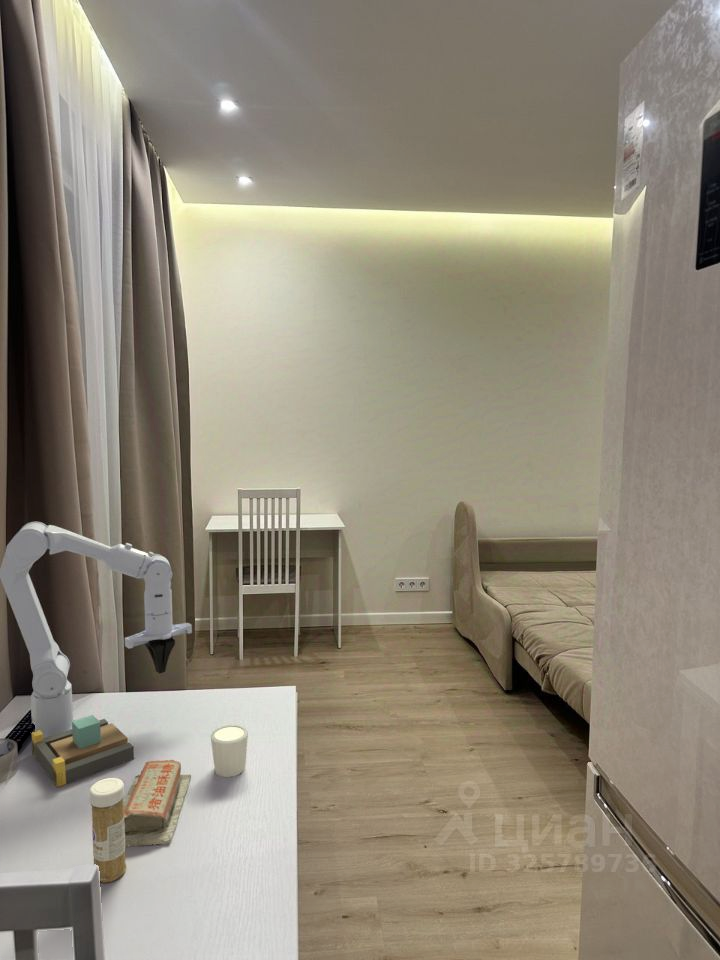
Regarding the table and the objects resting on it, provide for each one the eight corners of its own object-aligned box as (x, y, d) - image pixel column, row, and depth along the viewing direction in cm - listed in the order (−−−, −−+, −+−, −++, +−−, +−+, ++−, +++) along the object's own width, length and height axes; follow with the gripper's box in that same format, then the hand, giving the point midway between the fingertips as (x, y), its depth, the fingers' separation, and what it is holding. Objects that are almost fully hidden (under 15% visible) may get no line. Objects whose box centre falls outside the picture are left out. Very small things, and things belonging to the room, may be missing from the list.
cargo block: (72, 740, 123) (71, 721, 123) (93, 734, 126) (92, 714, 125) (79, 748, 120) (78, 728, 120) (100, 741, 123) (100, 722, 122)
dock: (32, 753, 123) (31, 732, 123) (104, 730, 133) (103, 710, 132) (57, 787, 112) (56, 764, 112) (133, 758, 122) (133, 737, 121)
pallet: (50, 758, 122) (50, 743, 122) (112, 736, 131) (112, 723, 130) (64, 775, 117) (63, 760, 116) (128, 752, 125) (127, 737, 124)
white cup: (231, 754, 123) (230, 720, 123) (256, 766, 119) (255, 731, 118) (203, 770, 118) (202, 735, 117) (228, 783, 114) (228, 746, 113)
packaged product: (134, 757, 114) (190, 755, 115) (135, 783, 115) (191, 780, 116) (103, 821, 96) (170, 817, 97) (105, 851, 97) (171, 847, 98)
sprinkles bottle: (87, 874, 91) (83, 786, 90) (117, 857, 95) (113, 772, 93) (103, 889, 88) (99, 799, 87) (133, 871, 92) (129, 784, 90)
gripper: (133, 623, 130) (135, 686, 131) (197, 608, 139) (199, 667, 141) (119, 615, 135) (122, 676, 136) (182, 601, 144) (184, 658, 146)
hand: (160, 671), depth 139 cm, fingers closed
